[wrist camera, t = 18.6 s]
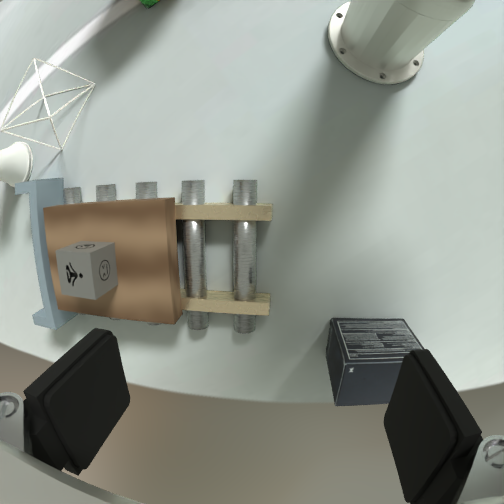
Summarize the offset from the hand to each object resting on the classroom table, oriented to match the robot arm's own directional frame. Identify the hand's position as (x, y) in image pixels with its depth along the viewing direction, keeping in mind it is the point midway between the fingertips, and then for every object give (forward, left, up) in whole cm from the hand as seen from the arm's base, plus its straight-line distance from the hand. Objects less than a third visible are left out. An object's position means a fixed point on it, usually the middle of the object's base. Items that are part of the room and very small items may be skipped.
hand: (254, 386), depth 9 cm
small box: (+14, +12, -28) cm, 34 cm away
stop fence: (+3, -33, -28) cm, 44 cm away
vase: (-11, -42, -28) cm, 52 cm away
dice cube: (+3, -21, -22) cm, 30 cm away
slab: (+3, -20, -25) cm, 32 cm away
